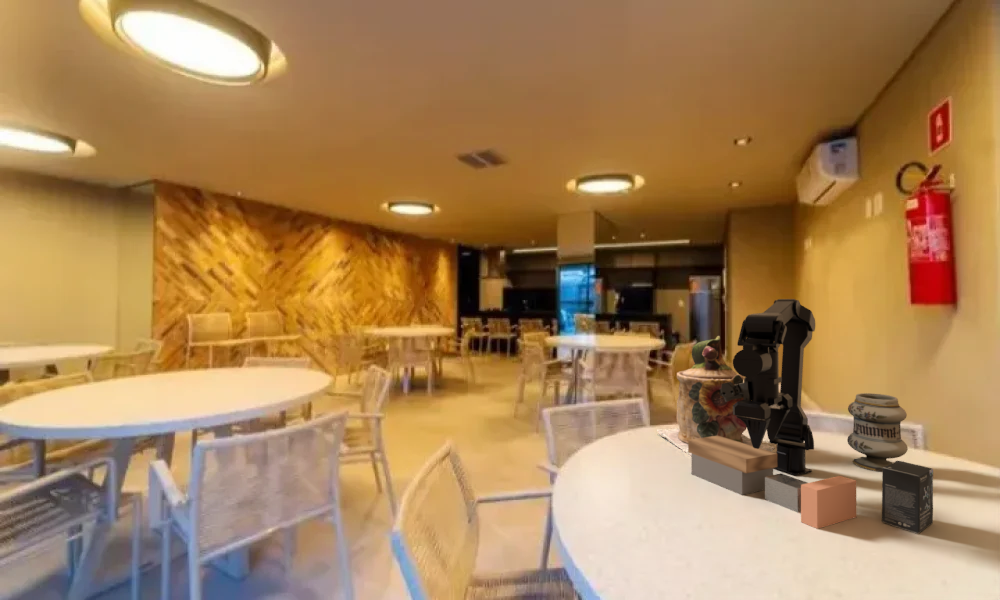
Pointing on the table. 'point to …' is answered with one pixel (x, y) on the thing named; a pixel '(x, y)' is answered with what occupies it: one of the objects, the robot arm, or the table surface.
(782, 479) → the support block
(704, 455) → the slab
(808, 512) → the end stop
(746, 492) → the plinth
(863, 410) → the apothecary jar
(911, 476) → the box
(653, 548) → the table surface
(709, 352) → the cookie jar
